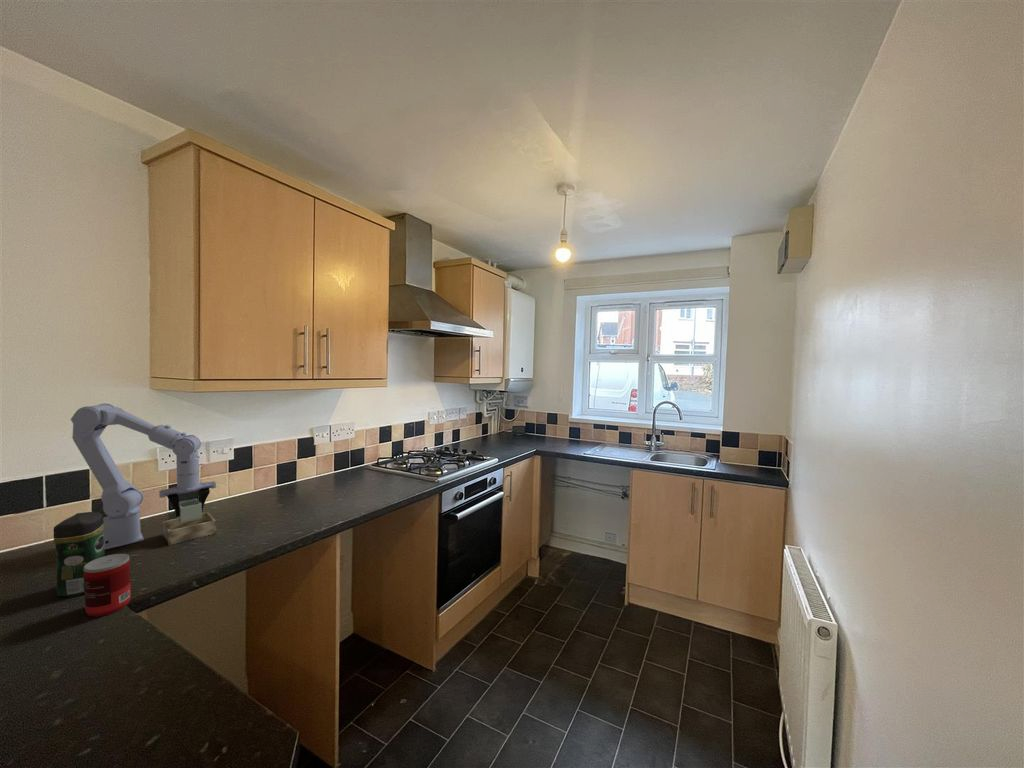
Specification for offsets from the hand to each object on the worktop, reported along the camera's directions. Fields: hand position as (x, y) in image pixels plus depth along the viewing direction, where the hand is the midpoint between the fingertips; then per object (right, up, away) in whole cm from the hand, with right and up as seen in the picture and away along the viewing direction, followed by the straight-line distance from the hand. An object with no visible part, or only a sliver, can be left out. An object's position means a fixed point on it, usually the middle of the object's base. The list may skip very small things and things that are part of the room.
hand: (189, 513), depth 135 cm
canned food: (+12, -10, -39) cm, 42 cm away
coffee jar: (-2, -9, -31) cm, 33 cm away
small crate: (0, -1, 0) cm, 1 cm away
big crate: (0, -7, 0) cm, 7 cm away
